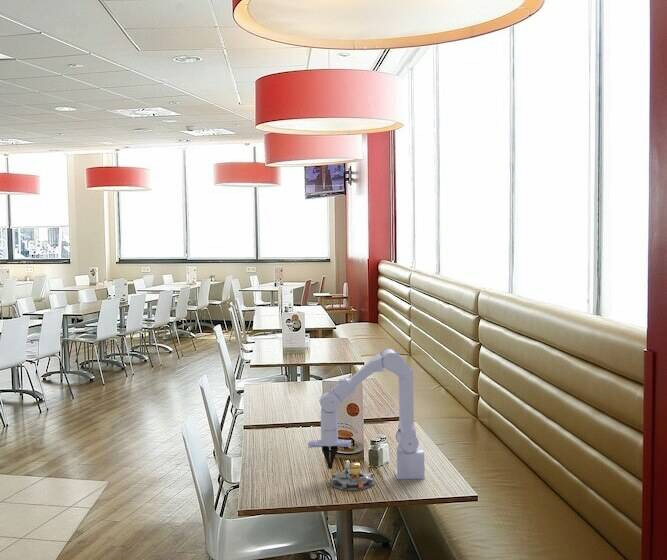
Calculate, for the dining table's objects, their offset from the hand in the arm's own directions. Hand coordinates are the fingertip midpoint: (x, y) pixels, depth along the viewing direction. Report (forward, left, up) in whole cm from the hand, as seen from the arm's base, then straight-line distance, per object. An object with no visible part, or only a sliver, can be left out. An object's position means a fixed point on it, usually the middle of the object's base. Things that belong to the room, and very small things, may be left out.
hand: (330, 467), depth 247 cm
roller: (-8, +7, -2) cm, 11 cm away
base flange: (-7, +4, -4) cm, 9 cm away
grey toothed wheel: (-7, +4, -4) cm, 9 cm away
